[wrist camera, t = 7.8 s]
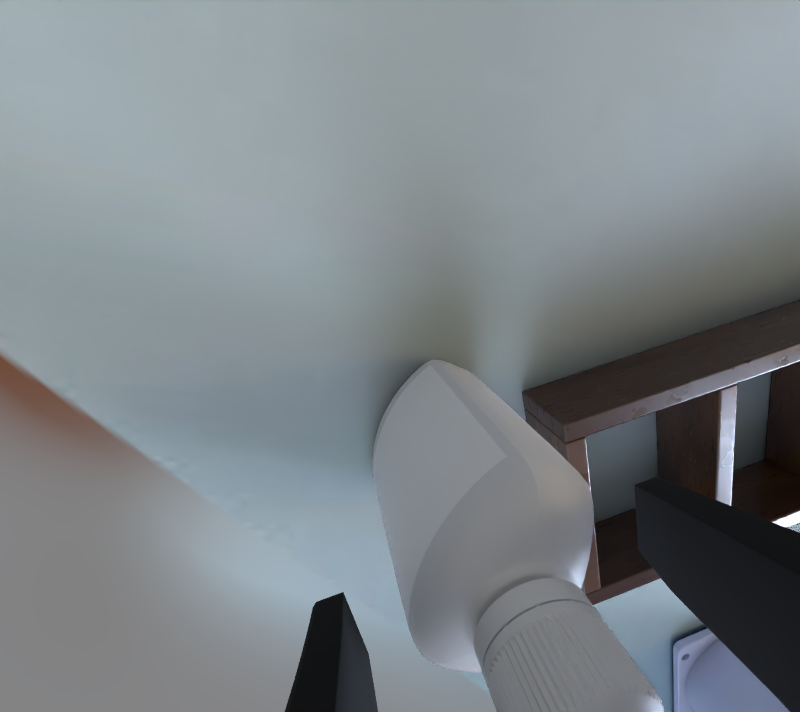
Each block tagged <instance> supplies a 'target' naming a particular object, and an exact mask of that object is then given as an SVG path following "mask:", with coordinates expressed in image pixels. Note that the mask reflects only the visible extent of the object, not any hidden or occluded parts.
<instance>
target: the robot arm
mask: <svg viewBox="0 0 800 712" xmlns="http://www.w3.org/2000/svg"><path fill="white" fill-rule="evenodd" d="M635 501H636V520H637V538H638V550H639V551H640V552H641V554H642V555H643V556H644V557H645V559H646V560H647V561H648V562H649V564H650V565H651V566H652V568H653V569H654V570H655V571H656V573H657V574H658V575H659V576H660V577H661V579H662V580H663V581H664V582H665V583H666V585H667V586H668V587H669V588H670V590H671V591H672V592H673V593H674V594H675V595H676V596H677V597H678V598H679V599H680V600H681V601H682V602H683V603H684V604H685V605H686V606H687V607H688V608H689V609H690V610H691V611H692V612H693V613H694V614H695V616H696V617H697V618H698V619H699V620H700V621H701V622H702V623H703V624H704V625H705V626H706V627H707V629H704V630H702V631H700V632H697V633H695V634H693V635H690V636H688V637H685V638H683V639H681V640H679V641H677V642H676V643H675V644H674V647H673V671H674V712H800V533H799V532H796V531H793V530H791V529H788V528H785V527H783V526H780V525H778V524H775V523H772V522H770V521H767V520H765V519H762V518H760V517H757V516H755V515H752V514H750V513H747V512H745V511H742V510H740V509H737V508H735V507H732V506H730V505H727V504H725V503H722V502H720V501H717V500H715V499H712V498H710V497H708V496H705V495H703V494H700V493H698V492H695V491H693V490H690V489H688V488H685V487H683V486H680V485H678V484H675V483H673V482H670V481H668V480H665V479H662V478H660V477H655V478H652V479H649V480H647V481H644V482H641V483H639V484H636V485H635ZM285 712H378V710H377V703H376V697H375V690H374V683H373V678H372V672H371V666H370V660H369V654H368V651H367V649H366V646H365V644H364V642H363V639H362V637H361V634H360V632H359V630H358V627H357V625H356V622H355V620H354V617H353V615H352V613H351V610H350V608H349V605H348V603H347V601H346V598H345V595H344V593H343V592H342V593H340V594H337V595H334V596H331V597H329V598H326V599H323V600H321V601H318V602H316V603H315V605H314V607H313V610H312V614H311V618H310V623H309V627H308V631H307V635H306V639H305V644H304V647H303V651H302V655H301V658H300V662H299V666H298V669H297V673H296V676H295V680H294V683H293V686H292V690H291V693H290V696H289V700H288V703H287V706H286V710H285Z"/></svg>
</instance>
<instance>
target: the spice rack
mask: <svg viewBox="0 0 800 712" xmlns="http://www.w3.org/2000/svg"><path fill="white" fill-rule="evenodd" d="M770 371H773V372H772V384H771V395H770V407H769V419H768V430H767V442H766V454H765V459H766V460H764V461H761V462H759V463H756V464H753V465H751V466H748V467H745V468H743V469H740V470H737V471H735V472H733V462H734V443H735V424H736V405H737V386H738V385H737V384H736V383H739V382H742V381H745V380H747V379H750V378H753V377H756V376H759V375H762V374H765V373H767V372H770ZM522 394H523V401H524V407H525V414H526V421H527V423H528V424H529V425H530V426H531V427H532V428H533V429H534V430H535V431H536V432H537V433H538V434H539V435H540V436H541V437H543V438H544V439H545V440H546V441H547V442H548V443H549V444H550V445H551V446H552V447H553V448H554V449H555V450H556V451H557V452H558V453H559V454H560V455H561V456H563V457H564V458H565V459H566V460H567V461H568V462H569V463H570V464H571V465H572V466H573V467H574V468H575V469H576V470H577V471H578V472H579V473H580V474H581V476H582V477H583V478H584V479H585V481H586V482H587V483H588V485H589V488H590V490H591V485H590V475H589V465H588V455H587V445H586V438H585V436H587V435H590V434H593V433H596V432H599V431H602V430H604V429H607V428H610V427H613V426H616V425H619V424H622V423H624V422H627V421H630V420H633V419H636V418H639V417H642V416H644V415H647V414H650V413H653V412H656V411H657V438H658V476H659V477H660V478H662V479H665V480H668V481H670V482H673V483H675V484H678V485H680V486H683V487H685V488H688V489H690V490H693V491H695V492H698V493H700V494H703V495H705V496H708V497H710V498H712V499H715V500H717V501H720V502H722V503H725V504H727V505H730V506H732V507H735V508H737V509H740V510H742V511H745V512H747V513H750V514H752V515H755V516H757V517H760V518H762V519H765V520H767V521H770V522H772V523H775V524H778V525H780V526H783V527H785V528H787V527H789V526H792V525H794V524H797V523H799V522H800V300H798V301H795V302H792V303H789V304H786V305H783V306H780V307H777V308H774V309H771V310H768V311H765V312H762V313H759V314H756V315H753V316H750V317H747V318H744V319H741V320H738V321H734V322H731V323H728V324H725V325H722V326H719V327H716V328H713V329H710V330H707V331H704V332H701V333H698V334H695V335H692V336H689V337H686V338H683V339H680V340H677V341H674V342H671V343H668V344H665V345H662V346H659V347H656V348H653V349H650V350H647V351H644V352H641V353H638V354H635V355H632V356H629V357H626V358H623V359H619V360H616V361H613V362H610V363H607V364H604V365H601V366H598V367H595V368H592V369H589V370H586V371H583V372H580V373H577V374H574V375H571V376H568V377H565V378H562V379H559V380H556V381H553V382H550V383H547V384H544V385H541V386H538V387H535V388H532V389H529V390H526V391H523V392H522ZM660 578H661V577H660V576H659V575H658V574H657V573H656V571H655V570H654V569H653V568H652V566H651V565H650V564H649V562H648V561H647V560H646V559H645V557H644V556H643V555H642V554H641V552H640V551H639V550H638V538H637V520H636V509H634V510H631V511H629V512H626V513H623V514H621V515H618V516H615V517H613V518H610V519H607V520H605V521H602V522H599V523H597V524H594V525H593V536H592V544H591V550H590V556H589V561H588V565H587V569H586V574H585V578H584V581H583V584H582V588H581V590H582V591H583V592H584V594H585V595H586V596H587V598H588V599H589V601H590V602H591V603H592V605H595V604H597V603H600V602H602V601H605V600H607V599H610V598H612V597H615V596H617V595H620V594H622V593H625V592H627V591H630V590H632V589H635V588H637V587H640V586H642V585H645V584H647V583H650V582H652V581H655V580H657V579H660Z"/></svg>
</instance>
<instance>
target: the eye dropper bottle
mask: <svg viewBox="0 0 800 712" xmlns="http://www.w3.org/2000/svg"><path fill="white" fill-rule="evenodd" d="M372 469H373V478H374V483H375V487H376V492H377V496H378V501H379V505H380V509H381V514H382V518H383V523H384V527H385V531H386V536H387V540H388V544H389V549H390V553H391V557H392V561H393V566H394V570H395V574H396V579H397V583H398V587H399V591H400V595H401V599H402V603H403V607H404V611H405V615H406V619H407V623H408V626H409V630H410V632H411V635H412V638H413V641H414V643H415V645H416V647H417V649H418V650H419V652H420V653H421V655H422V656H423V657H425V658H426V659H427V660H429V661H431V662H432V663H434V664H436V665H438V666H441V667H444V668H448V669H452V670H457V671H463V672H476V673H481V672H482V673H483V675H484V678H485V681H486V683H487V686H488V689H489V691H490V694H491V697H492V699H493V702H494V705H495V707H496V710H497V712H664V706H663V702H662V699H661V698H660V696H659V694H658V693H657V692H656V690H655V689H654V688H653V686H652V685H651V684H650V682H649V681H648V680H647V678H646V677H645V675H644V674H643V673H642V671H641V670H640V669H639V667H638V666H637V665H636V663H635V662H634V660H633V659H632V658H631V656H630V655H629V654H628V652H627V651H626V650H625V648H624V647H623V645H622V644H621V643H620V641H619V640H618V639H617V637H616V636H615V635H614V633H613V632H612V631H611V629H610V628H609V626H608V625H607V624H606V622H605V621H604V620H603V618H602V617H601V616H600V614H599V613H598V611H597V610H596V609H595V607H594V606H593V605H592V603H591V602H590V601H589V599H588V598H587V596H586V595H585V594H584V592H583V591H582V590H581V588H582V584H583V581H584V578H585V574H586V569H587V565H588V561H589V556H590V550H591V544H592V536H593V525H594V504H593V499H592V495H591V490H590V488H589V485H588V483H587V482H586V481H585V479H584V478H583V477H582V476H581V474H580V473H579V472H578V471H577V470H576V469H575V468H574V467H573V466H572V465H571V464H570V463H569V462H568V461H567V460H566V459H565V458H564V457H563V456H561V455H560V454H559V453H558V452H557V451H556V450H555V449H554V448H553V447H552V446H551V445H550V444H549V443H548V442H547V441H546V440H545V439H544V438H543V437H541V436H540V435H539V434H538V433H537V432H536V431H535V430H534V429H533V428H532V427H531V426H530V425H529V424H528V423H526V422H525V421H524V420H523V419H522V418H521V417H520V416H519V415H518V414H517V413H516V412H515V411H514V410H513V409H511V408H510V407H509V406H508V405H507V404H506V403H505V402H504V401H503V400H502V399H501V398H499V397H498V396H497V395H496V394H495V393H494V392H493V391H492V390H491V389H490V388H489V387H488V386H486V385H485V384H484V383H483V382H482V381H481V380H480V379H479V378H478V377H477V376H475V375H474V374H473V373H472V372H470V371H467V370H465V369H463V368H461V367H458V366H456V365H453V364H451V363H448V362H446V361H443V360H431V361H429V362H427V363H425V364H423V365H422V366H421V367H420V368H418V369H417V370H416V371H415V372H414V373H413V374H412V375H411V376H410V377H409V378H408V379H407V380H406V382H405V383H404V384H403V385H402V386H401V388H400V389H399V390H398V392H397V393H396V394H395V396H394V397H393V399H392V400H391V402H390V404H389V405H388V407H387V409H386V411H385V413H384V415H383V418H382V420H381V423H380V425H379V428H378V431H377V435H376V439H375V444H374V450H373V462H372Z"/></svg>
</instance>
